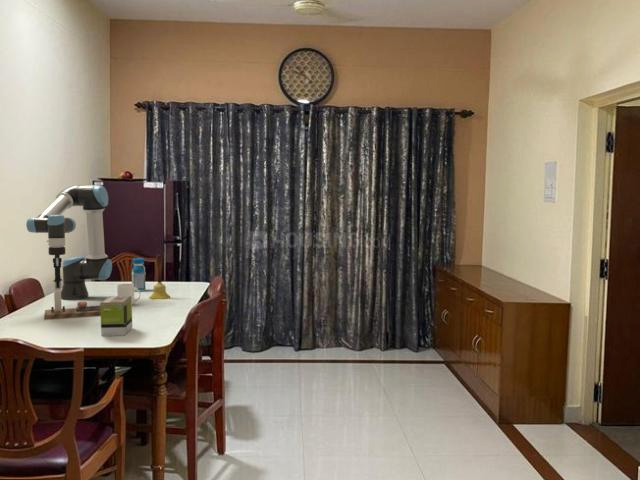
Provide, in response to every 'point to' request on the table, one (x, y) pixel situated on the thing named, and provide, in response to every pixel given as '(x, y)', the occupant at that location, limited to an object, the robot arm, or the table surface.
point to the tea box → (116, 315)
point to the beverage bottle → (138, 274)
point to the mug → (127, 291)
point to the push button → (82, 304)
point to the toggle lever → (57, 299)
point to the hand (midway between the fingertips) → (58, 294)
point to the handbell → (159, 283)
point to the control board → (72, 312)
